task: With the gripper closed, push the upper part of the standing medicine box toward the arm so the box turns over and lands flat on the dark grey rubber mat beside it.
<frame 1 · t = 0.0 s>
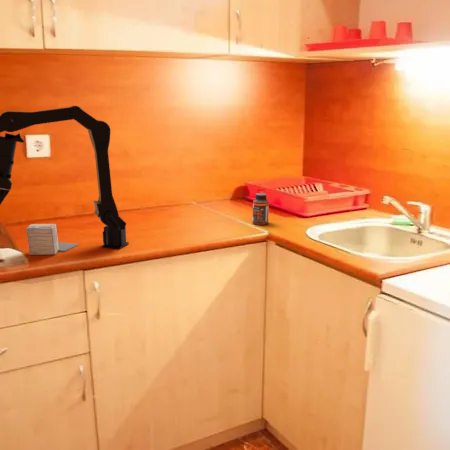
mat: (59, 247, 172), on the countertop
supplement bottle: (260, 224, 204), on the countertop
medicine box: (44, 253, 166), on the countertop, touching mat
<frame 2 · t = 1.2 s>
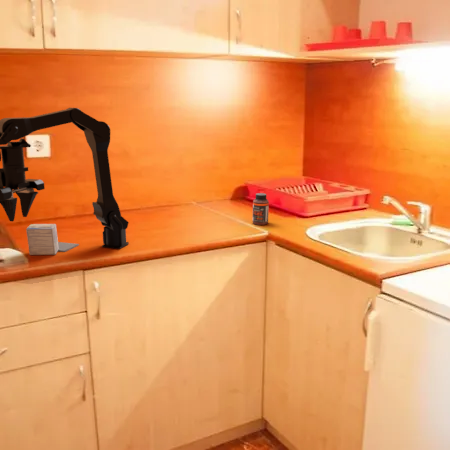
hand: (18, 219, 154), 13 cm above the countertop, tool pointing down, fingers open, 5 cm apart
nothing on the countertop moved.
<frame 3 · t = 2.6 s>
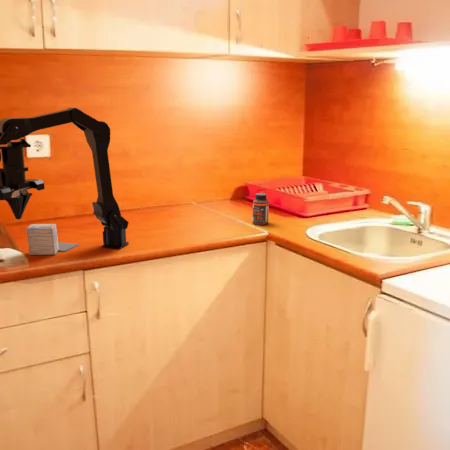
hand: (18, 219, 153), 13 cm above the countertop, tool pointing down, fingers closed
nothing on the countertop moved.
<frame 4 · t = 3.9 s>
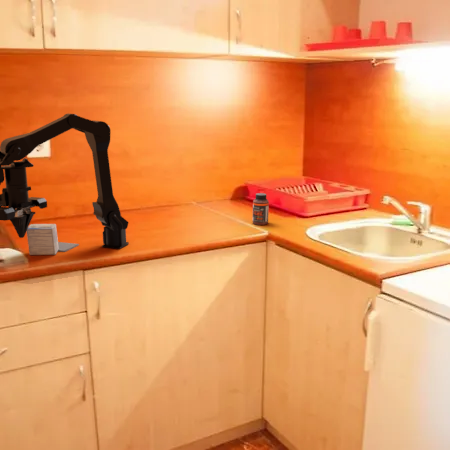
hand: (21, 237, 155), 7 cm above the countertop, tool pointing down, fingers closed
nothing on the countertop moved.
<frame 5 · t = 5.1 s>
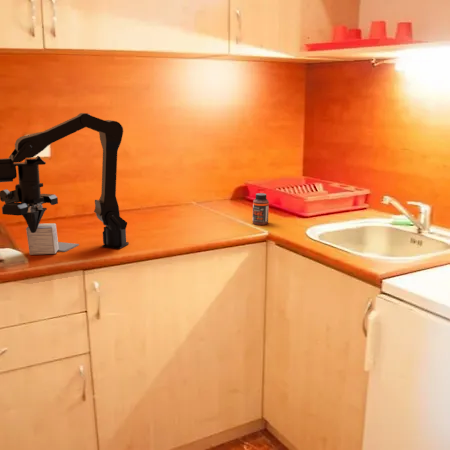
hand: (33, 232, 160), 8 cm above the countertop, tool pointing down, fingers closed
medicine box: (44, 253, 166), on the countertop, touching gripper, mat
everything else where it was.
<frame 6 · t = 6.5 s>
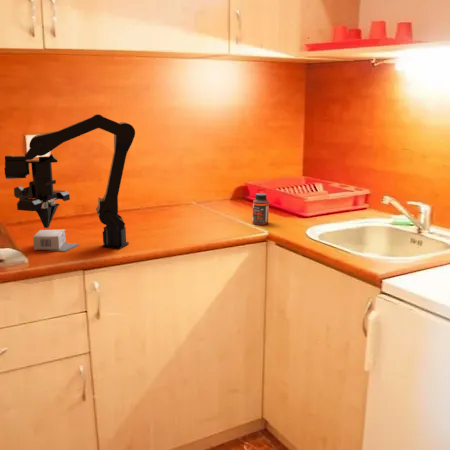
hand: (46, 227, 166), 7 cm above the countertop, tool pointing down, fingers closed
medicine box: (45, 243, 167), point 3 cm above the countertop, touching mat
everything else where it was.
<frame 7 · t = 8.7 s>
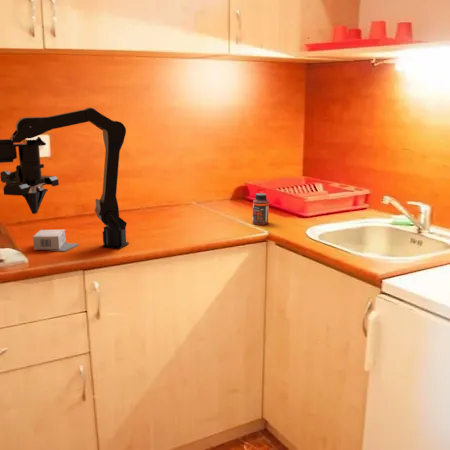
hand: (34, 213, 161), 13 cm above the countertop, tool pointing down, fingers closed
nothing on the countertop moved.
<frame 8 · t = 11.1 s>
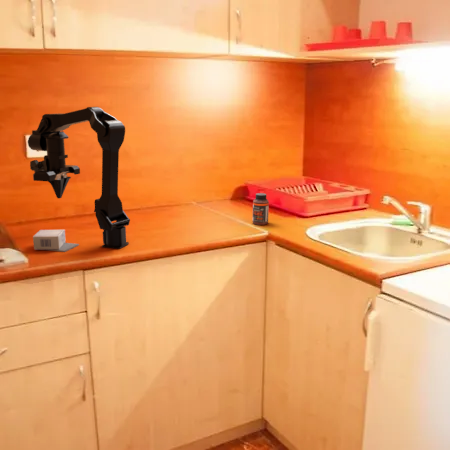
hand: (59, 198, 183), 13 cm above the countertop, tool pointing down, fingers closed
nothing on the countertop moved.
at the end: medicine box tilted 90°; medicine box inside the target area (1.3 cm from its centre), point 2.6 cm above the countertop; the gripper is holding nothing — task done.
